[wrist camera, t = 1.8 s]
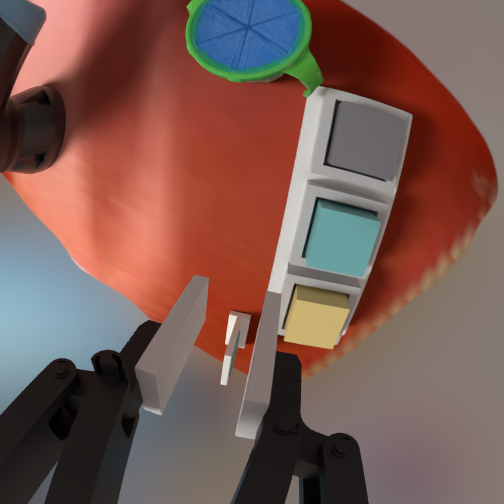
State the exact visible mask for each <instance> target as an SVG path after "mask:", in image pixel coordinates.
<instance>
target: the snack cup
mask: <svg viewBox="0 0 504 504" xmlns="http://www.w3.org/2000/svg"><path fill="white" fill-rule="evenodd" d="M187 9H188V12H189V14H190V17H189V19H188V22H187V26H186V41H187V45H186V46H187V49H188V51H189V54H190V55H192V56H193V57H194V58H195V59H196V61H197V62H198V63H199V64H200V65H201V66H202V67H204V68H205V69H206V70H208V71H209V72H211V73H213V74H215V75H217V76H220V77H222V78H226V79H228V80H229V81H232V82H240V83H242V82H245V81H246V82H251V83H267V82H271V81H274V80H276V79H278V78H279V77H281V76H282V75H283V74H284V73H286V74H289V75H291V76H293V77H295V78H297V79H299V80H300V81H301V82H302V83H303V84H304V86H306V88H307V90H306V91H305V92H304V93H303V96H304V97H308V96H309V95H311V94H312V93H313V92H314V90H315V89H316V88H317V87H318V86H319V85H320V84H322V82H323V81H324V79H323V77H322V73H321V70H320V68H319V67H318V64H317V62H316V61H315V58H314V57H313V55H312V54H311V52H310V50H309V48H308V47H309V42H310V39H311V32H312V21H311V13H310V11H309V9H308V8H307V7H306V6H305V5H304V3H303V2H302V1H301V0H192V1H191V2H190V3H189V4H188V5H187Z"/></svg>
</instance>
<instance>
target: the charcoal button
mask: <svg viewBox="0 0 504 504" xmlns="http://www.w3.org/2000/svg"><path fill="white" fill-rule="evenodd" d="M405 122H406V121H405V120H403V119H400V118H397V117H395V116H392V115H389V114H386V113H383V112H380V111H377V110H374V109H371V108H368V107H365V106H362V105H358V104H355V103H351V102H348V101H343V102H341V103H340V104H338V105H337V108H336V113H335V119H334V124H333V129H332V134H331V139H330V144H329V149H328V154H327V159H326V161H327V162H328V163H330V164H331V165H335V166H339V167H343V168H346V169H350V170H354V171H357V172H361V173H365V174H368V175H372V176H375V177H378V178H382V179H385V180H388V181H391V182H393V179H394V174H395V170H396V166H397V162H398V157H399V153H400V148H401V143H402V138H403V133H404V128H405Z"/></svg>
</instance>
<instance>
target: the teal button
mask: <svg viewBox="0 0 504 504" xmlns="http://www.w3.org/2000/svg"><path fill="white" fill-rule="evenodd" d="M380 225H381V221H380V220H379V219H378V218H377V217H376V216H375V215H374V214H373V213H372V212H371V211H368V210H365V209H361V208H357V207H353V206H349V205H345V204H341V203H337V202H333V201H329V200H324V199H320V198H318V200H317V204H316V208H315V212H314V216H313V221H312V225H311V229H310V233H309V237H308V241H307V244H306V248H305V255H306V266H309V267H313V268H318V269H323V270H328V271H333V272H338V273H342V274H347V275H352V276H357V277H362V278H363V275H364V272H365V270H366V267H367V264H368V261H369V259H370V256H371V253H372V250H373V247H374V244H375V241H376V238H377V235H378V232H379V228H380Z"/></svg>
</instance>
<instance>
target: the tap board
mask: <svg viewBox="0 0 504 504" xmlns="http://www.w3.org/2000/svg"><path fill="white" fill-rule="evenodd" d="M343 101H348V102H351V103H355V104H358V105H362V106H365V107H368V108H371V109H374V110H377V111H380V112H383V113H386V114H389V115H392V116H395V117H397V118H400V119H403V120H405V121H406V122H405V128H404V133H403V138H402V143H401V148H400V153H399V157H398V162H397V166H396V170H395V174H394V179H393V182H391V181H388V180H385V179H382V178H378V177H375V176H372V175H368V174H365V173H361V172H357V171H354V170H350V169H346V168H343V167H339V166H335V165H331V164H330V163H328V162H327V161H326V159H327V154H328V149H329V144H330V139H331V134H332V129H333V124H334V119H335V113H336V108H337V105H338V104H340V103H341V102H343ZM412 116H413V115H411V114H410V113H407V112H405V111H402V110H400V109H397V108H394V107H391V106H389V105H386V104H383V103H380V102H377V101H374V100H371V99H368V98H365V97H361V96H358V95H355V94H351V93H347V92H344V91H340V90H336V89H332V88H328V87H327V88H326V87H322V86H318V87H317V88H316V89H315V90H314V92H313V93H312V94H311V95H309V96H308V97H307V100H306V105H305V111H304V116H303V122H302V127H301V132H300V138H299V143H298V148H297V153H296V158H295V164H294V169H293V174H292V179H291V184H290V189H289V194H288V198H287V203H286V208H285V213H284V218H283V222H282V227H281V232H280V237H279V241H278V246H277V250H276V255H275V260H274V264H273V269H272V273H271V278H270V282H269V286H268V291H271V292H276V293H280V294H282V296H281V307H280V317H279V327H278V335H283V336H284V333H285V320H286V317H287V313H288V310H289V307H290V303H291V300H292V296H293V293H294V289H295V285H296V284H301V285H306V286H311V287H316V288H321V289H326V290H331V291H336V292H341V293H346V297H347V300H348V304H349V308H350V311H349V313H348V315H347V318H346V320H345V322H344V325H343V327H342V329H341V331H340V334H339V336H338V338H337V340H336V342H335V344H336V345H337V344H338V342H339V340H340V338H341V335H344V334H345V332H346V330H347V328H348V325H349V323H350V321H351V319H352V316H353V314H354V312H355V309H356V307H357V305H358V302H359V300H360V297H361V295H362V292H363V290H364V287H365V285H366V282H367V280H368V277H369V275H370V272H371V269H372V266H373V264H374V261H375V258H376V255H377V252H378V250H379V247H380V244H381V241H382V238H383V235H384V232H385V228H386V225H387V222H388V219H389V215H390V212H391V209H392V205H393V202H394V198H395V194H396V191H397V187H398V183H399V179H400V175H401V171H402V167H403V162H404V158H405V153H406V149H407V144H408V139H409V133H410V128H411V122H412ZM318 198H320V199H324V200H329V201H333V202H337V203H341V204H345V205H349V206H353V207H357V208H361V209H365V210H368V211H371V212H372V213H373V214H374V215H375V216H376V217H377V218H378V219H379V220H380V221H381V225H380V228H379V232H378V235H377V238H376V241H375V244H374V247H373V250H372V253H371V256H370V259H369V261H368V264H367V267H366V270H365V272H364V275H363V278H362V277H357V276H352V275H347V274H342V273H338V272H333V271H328V270H323V269H318V268H313V267H309V266H306V255H305V248H306V244H307V241H308V237H309V233H310V229H311V225H312V221H313V216H314V212H315V208H316V204H317V200H318Z"/></svg>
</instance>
